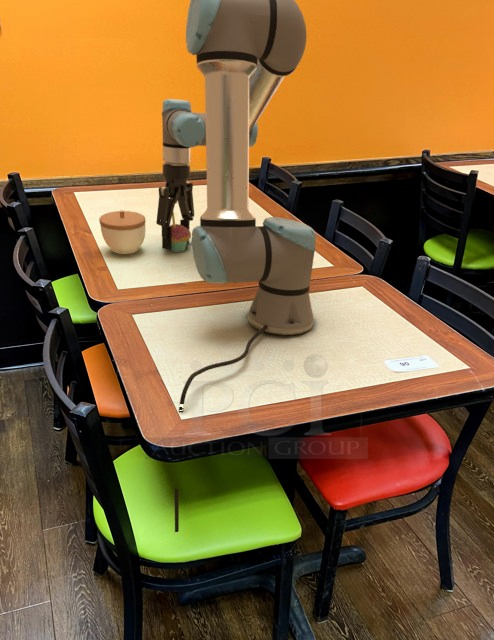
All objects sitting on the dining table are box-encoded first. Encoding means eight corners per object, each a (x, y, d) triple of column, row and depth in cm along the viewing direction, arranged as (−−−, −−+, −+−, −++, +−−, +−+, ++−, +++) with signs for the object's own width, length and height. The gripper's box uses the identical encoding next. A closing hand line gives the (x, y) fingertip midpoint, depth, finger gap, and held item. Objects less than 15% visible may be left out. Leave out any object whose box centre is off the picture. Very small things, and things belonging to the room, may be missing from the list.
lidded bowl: (152, 243, 168) (149, 205, 162) (140, 259, 158) (137, 220, 152) (110, 240, 169) (106, 202, 162) (96, 255, 159) (91, 216, 152)
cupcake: (186, 256, 164) (184, 214, 157) (158, 252, 165) (155, 211, 158) (194, 245, 171) (193, 205, 164) (167, 242, 172) (165, 202, 165)
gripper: (186, 158, 165) (185, 236, 177) (141, 165, 148) (143, 250, 160) (208, 161, 163) (205, 240, 174) (165, 169, 146) (165, 256, 158)
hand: (175, 245), depth 167 cm, fingers closed on cupcake, 9 cm apart
